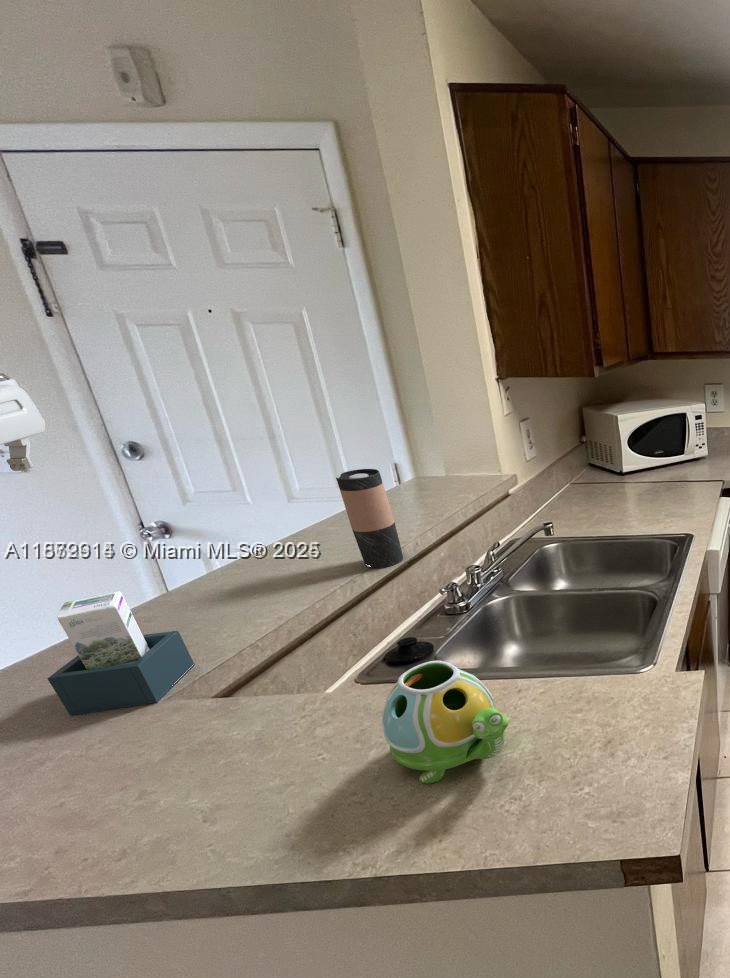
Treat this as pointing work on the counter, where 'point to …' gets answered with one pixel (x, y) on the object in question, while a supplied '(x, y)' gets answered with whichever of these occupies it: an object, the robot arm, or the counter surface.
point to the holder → (124, 678)
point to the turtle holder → (441, 720)
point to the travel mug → (370, 517)
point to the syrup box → (103, 631)
